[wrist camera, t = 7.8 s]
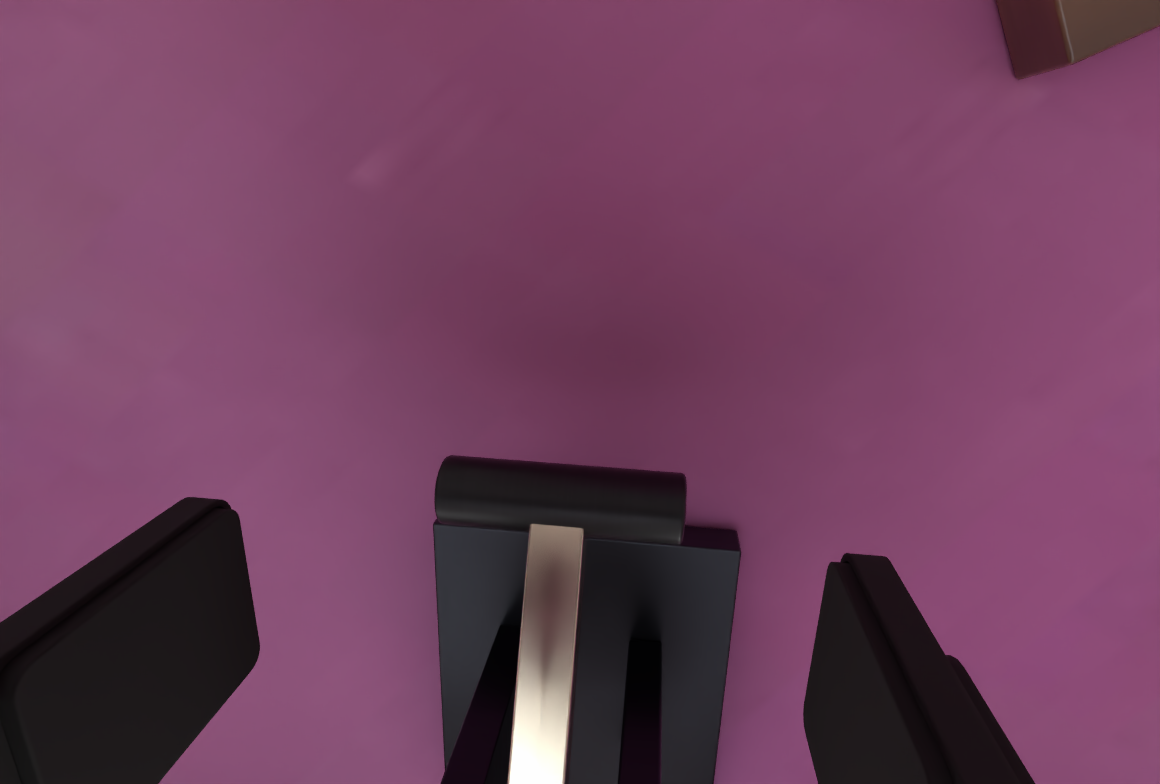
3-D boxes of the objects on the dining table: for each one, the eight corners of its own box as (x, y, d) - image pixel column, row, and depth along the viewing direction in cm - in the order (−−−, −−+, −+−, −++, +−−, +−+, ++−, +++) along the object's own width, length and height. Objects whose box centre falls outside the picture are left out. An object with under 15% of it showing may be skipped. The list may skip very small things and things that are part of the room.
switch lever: (463, 457, 15) (429, 452, 13) (682, 473, 14) (689, 472, 12) (405, 1043, 13) (353, 1163, 11) (646, 1086, 13) (647, 1221, 11)
